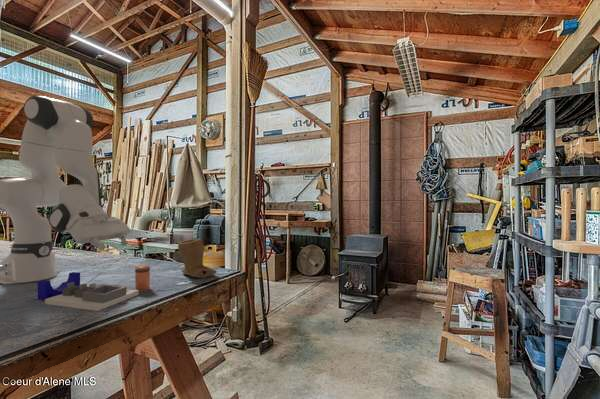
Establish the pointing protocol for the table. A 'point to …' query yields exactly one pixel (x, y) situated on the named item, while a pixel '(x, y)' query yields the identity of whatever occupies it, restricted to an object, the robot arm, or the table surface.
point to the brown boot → (194, 258)
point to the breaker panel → (91, 296)
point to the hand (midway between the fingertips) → (114, 246)
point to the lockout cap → (142, 278)
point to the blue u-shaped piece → (47, 290)
